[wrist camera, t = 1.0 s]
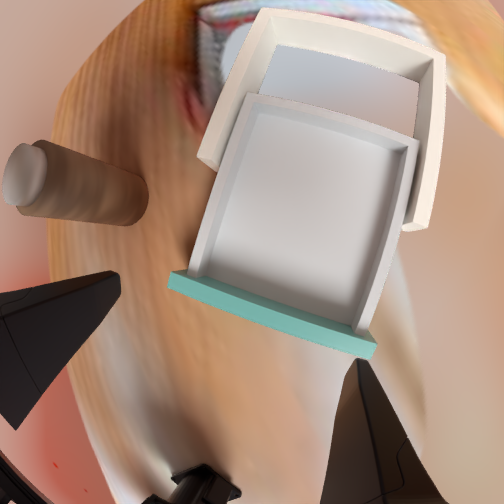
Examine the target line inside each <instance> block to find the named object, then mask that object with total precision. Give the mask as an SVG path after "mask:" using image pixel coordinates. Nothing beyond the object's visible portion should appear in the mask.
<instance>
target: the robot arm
mask: <svg viewBox="0 0 504 504" xmlns="http://www.w3.org/2000/svg"><path fill="white" fill-rule="evenodd" d="M120 295H121V283H120V276H119V274H118V273H116V272H114V271H111V270H109V271H104V272H100V273H95V274H90V275H85V276H81V277H76V278H72V279H67V280H62V281H58V282H53V283H49V284H44V285H40V286H35V287H31V288H26V289H21V290H16V291H10V292H4V293H0V414H1V415H2V416H3V417H4V418H5V419H6V421H7V422H8V423H9V424H10V425H11V426H12V427H13V428H14V430H17V429H18V427H19V426H20V425H21V423H22V422H23V420H24V419H25V418H26V416H27V415H28V414H29V412H30V411H31V409H32V408H33V407H34V405H35V404H36V403H37V401H38V400H39V399H40V397H41V396H42V394H43V393H44V392H45V391H46V389H47V388H48V387H49V385H50V384H51V383H52V382H53V380H54V379H55V378H56V376H57V375H58V374H59V373H60V371H61V370H62V369H63V367H64V366H65V365H66V364H67V363H68V362H69V360H70V359H71V358H72V357H73V355H74V354H75V353H76V352H77V351H78V349H79V348H80V347H81V346H82V345H83V343H84V342H85V341H86V340H87V339H88V338H89V336H90V335H91V334H92V333H93V332H94V331H95V329H96V328H97V327H98V326H99V325H100V323H101V322H102V321H103V319H104V318H105V316H106V315H107V314H108V312H109V311H110V309H111V308H112V307H113V305H114V304H115V302H116V301H117V300H118V298H119V297H120ZM203 467H204V468H203ZM171 480H172V481H174V482H175V483H176V484H177V485H178V486H177V487H176V489H175V490H174V492H173V493H172V495H171V496H170V498H169V499H168V501H166V500H164V499H162V498H160V497H158V496H157V495H155V494H152V495H151V496H150V497H148V498H147V499H146V500H145V501H144V502H143V503H141V504H227V502H228V501H230V500H233V499H237V498H240V497H241V495H242V493H241V492H240V491H238V490H237V489H236V488H234V487H233V486H232V485H231V484H229V483H228V482H227V481H225V480H224V479H223V478H222V477H220V476H219V475H218V474H217V473H216V472H214V471H213V470H212V469H211V468H210V467H209V466H207V465H206V464H200V465H198V466H195V467H193V468H190V469H188V470H185V471H183V472H180V473H177V474H175V475H172V477H171ZM10 500H12V501H13V502H15V503H16V504H54V503H53V502H51V501H50V500H49V499H48V498H47V497H46V496H45V495H44V494H42V493H41V492H40V491H39V490H38V489H37V488H36V487H35V486H34V485H33V484H32V483H31V482H30V481H29V480H28V479H27V478H25V476H23V474H22V473H21V472H20V471H19V470H18V469H17V468H16V467H15V466H14V465H13V464H12V463H11V462H10V461H9V459H8V458H7V457H6V456H5V455H4V454H3V453H2V451H1V450H0V504H8V503H9V502H10ZM320 504H449V503H448V502H446V501H445V500H444V498H443V497H442V496H441V494H440V493H439V491H438V490H437V488H436V486H435V485H434V483H433V481H432V480H431V478H430V476H429V475H428V473H427V471H426V470H425V468H424V466H423V465H422V463H421V461H420V460H419V458H418V456H417V454H416V452H415V450H414V448H413V446H412V444H411V442H410V440H409V438H407V434H406V432H405V430H404V428H403V426H402V424H401V422H400V420H399V418H398V416H397V415H396V413H395V411H394V409H393V407H392V405H391V403H390V401H389V399H388V397H387V395H386V393H385V392H384V390H383V388H382V386H381V384H380V382H379V380H378V379H377V377H376V375H375V373H374V371H373V369H372V368H371V366H370V364H369V362H368V361H367V360H364V359H360V358H356V359H355V360H354V361H353V363H352V365H351V366H350V368H349V370H348V371H347V373H346V375H345V378H344V382H343V386H342V391H341V395H340V399H339V403H338V407H337V411H336V416H335V421H334V428H333V435H332V442H331V448H330V454H329V460H328V466H327V471H326V476H325V481H324V486H323V491H322V496H321V500H320Z"/></svg>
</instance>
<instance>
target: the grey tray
mask: <svg viewBox="0 0 504 504" xmlns="http://www.w3.org/2000/svg"><path fill="white" fill-rule="evenodd" d="M418 146H419V140H416V139H414V138H411V137H409V136H406V135H404V134H401V133H399V132H396V131H394V130H391V129H388V128H385V127H383V126H380V125H377V124H374V123H371V122H368V121H365V120H362V119H359V118H356V117H353V116H349V115H346V114H343V113H339V112H336V111H332V110H328V109H325V108H321V107H317V106H314V105H310V104H305V103H301V102H297V101H292V100H288V99H283V98H277V97H273V96H267V95H262V94H256V93H250V92H247V94H246V97H245V99H244V102H243V105H242V107H241V110H240V112H239V115H238V118H237V120H236V123H235V126H234V129H233V131H232V134H231V137H230V139H229V142H228V145H227V148H226V151H225V153H224V156H223V159H222V162H221V165H220V168H219V171H218V174H217V177H216V180H215V183H214V186H213V189H212V192H211V195H210V198H209V201H208V204H207V207H206V210H205V213H204V217H203V220H202V223H201V226H200V229H199V233H198V236H197V239H196V243H195V246H194V249H193V253H192V256H191V260H190V263H189V267H188V269H185V270H179V271H173V272H171V274H170V278H169V281H168V285H167V288H170V289H172V290H174V291H177V292H179V293H182V294H184V295H186V296H189V297H191V298H194V299H196V300H199V301H201V302H204V303H206V304H209V305H211V306H214V307H216V308H219V309H221V310H224V311H226V312H229V313H232V314H234V315H237V316H239V317H242V318H245V319H247V320H250V321H253V322H256V323H258V324H261V325H264V326H267V327H269V328H272V329H275V330H278V331H281V332H284V333H287V334H290V335H293V336H295V337H298V338H301V339H304V340H307V341H311V342H314V343H317V344H320V345H323V346H326V347H329V348H332V349H336V350H339V351H342V352H346V353H349V354H352V355H356V356H359V357H363V358H366V359H371V357H372V355H373V353H374V351H375V348H376V346H377V343H376V341H375V340H374V338H373V337H372V335H371V334H370V332H369V331H368V327H369V324H370V322H371V319H372V317H373V314H374V312H375V309H376V306H377V304H378V301H379V298H380V295H381V292H382V290H383V287H384V284H385V281H386V278H387V275H388V272H389V269H390V266H391V262H392V259H393V256H394V252H395V249H396V246H397V242H398V239H399V235H400V231H401V228H402V224H403V220H404V216H405V212H406V208H407V203H408V199H409V194H410V190H411V185H412V180H413V175H414V170H415V164H416V159H417V153H418Z"/></svg>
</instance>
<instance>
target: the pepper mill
mask: <svg viewBox="0 0 504 504" xmlns="http://www.w3.org/2000/svg"><path fill="white" fill-rule="evenodd" d="M2 192H3V197H4V200H5V202H6V203H7V204H10V205H16V207H17V209H18V211H19V212H20V213H21V214H22V215H26V216H34V217H44V218H54V219H63V220H73V221H82V222H91V223H100V224H109V225H118V226H130V225H133V224H134V223H136V222H137V221H138V220H139V219H140V218H141V217H142V216H143V214H144V213H145V210H146V208H147V205H148V199H149V193H148V188H147V185H146V183H145V181H144V180H143V179H142V178H141V177H140V176H138V175H135V174H133V173H130V172H128V171H125V170H123V169H120V168H117V167H115V166H112V165H110V164H107V163H104V162H102V161H99V160H97V159H94V158H91V157H89V156H86V155H83V154H81V153H78V152H75V151H73V150H70V149H67V148H65V147H62V146H59V145H57V144H54V143H51V142H48V141H45V140H39V141H37V142H35V143H34V144H32V145H29V144H25V143H22V144H20V145H19V146H17V147H16V148H15V149H14V151H13V152H12V154H11V156H10V157H9V159H8V162H7V164H6V167H5V171H4V175H3V182H2Z"/></svg>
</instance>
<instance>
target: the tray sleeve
mask: <svg viewBox="0 0 504 504" xmlns="http://www.w3.org/2000/svg"><path fill="white" fill-rule="evenodd" d="M277 45H284V46H290V47H296V48H302V49H308V50H312V51H317V52H322V53H326V54H331V55H335V56H339V57H343V58H347V59H350V60H354V61H358V62H361V63H364V64H368V65H371V66H374V67H377V68H380V69H383V70H386V71H389V72H392V73H395V74H398V75H400V76H403V77H405V78H408V79H410V80H413V81H415V82H418V83H419V94H418V104H417V114H416V121H415V129H414V136H413V138H414V139H416V140H419V146H418V153H417V159H416V164H415V170H414V175H413V180H412V185H411V190H410V194H409V199H408V203H407V208H406V212H405V216H404V220H403V224H402V228H401V230H404V231H406V232H409V231H414V230H419V229H425V228H428V224H429V219H430V215H431V211H432V206H433V201H434V196H435V191H436V185H437V179H438V173H439V166H440V160H441V152H442V144H443V134H444V121H445V105H446V55H444V54H442V53H440V52H438V51H436V50H433V49H431V48H429V47H427V46H424V45H422V44H419V43H417V42H414V41H412V40H409V39H407V38H404V37H401V36H398V35H396V34H393V33H390V32H387V31H384V30H380V29H377V28H374V27H370V26H367V25H363V24H360V23H356V22H352V21H348V20H344V19H339V18H334V17H330V16H325V15H319V14H313V13H307V12H300V11H293V10H285V9H275V8H261V9H260V11H259V13H258V15H257V17H256V19H255V21H254V23H253V25H252V27H251V29H250V31H249V33H248V35H247V37H246V39H245V41H244V43H243V45H242V47H241V49H240V52H239V54H238V56H237V58H236V60H235V63H234V65H233V67H232V69H231V71H230V73H229V76H228V78H227V80H226V83H225V85H224V87H223V90H222V92H221V94H220V97H219V99H218V102H217V104H216V106H215V109H214V111H213V114H212V116H211V119H210V122H209V124H208V127H207V129H206V132H205V135H204V137H203V140H202V143H201V145H200V148H199V151H198V153H197V156H196V157H197V158H199V159H200V160H201V161H202V162H204V163H205V164H206V165H208V166H209V167H210V168H212V169H213V170H214V171H215V172H218V171H219V168H220V165H221V162H222V159H223V156H224V153H225V151H226V148H227V145H228V142H229V139H230V137H231V134H232V131H233V129H234V126H235V123H236V120H237V118H238V115H239V112H240V110H241V107H242V105H243V102H244V99H245V97H246V94H247V92H250V93H256V94H258V92H259V90H260V87H261V85H262V82H263V79H264V77H265V74H266V72H267V69H268V67H269V64H270V62H271V59H272V57H273V54H274V52H275V49H276V47H277Z"/></svg>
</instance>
